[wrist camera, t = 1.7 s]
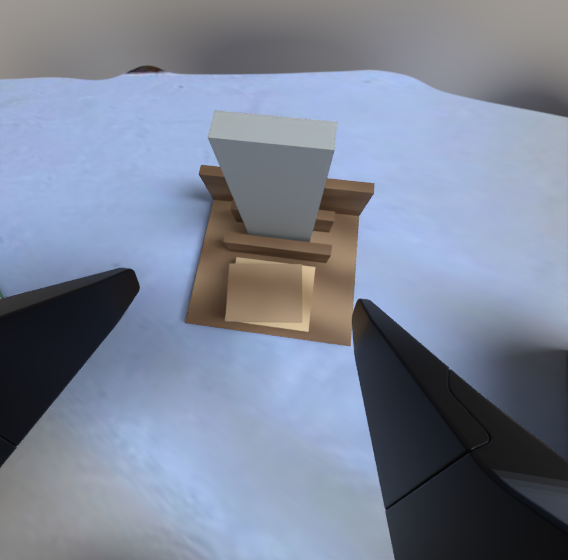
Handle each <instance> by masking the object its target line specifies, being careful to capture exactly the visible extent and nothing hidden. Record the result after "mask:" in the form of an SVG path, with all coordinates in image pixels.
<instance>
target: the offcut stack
mask: <svg viewBox="0 0 568 560" xmlns="http://www.w3.org/2000/svg"><path fill="white" fill-rule="evenodd" d="M314 275H315V267H311V266H303V265H302V264H287V263H279V262H271V261H263V260H255V259H247V258H239V257H237V258H236V263H235V264H229V276H228V290H227V305H226V315H225V321H228V322H242V323H249V324H256V325H263V326H270V327H278V328H285V329H292V330H299V331H306V332H308V331H309V322H310V312H311V303H312V294H313V285H314Z"/></svg>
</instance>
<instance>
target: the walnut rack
mask: <svg viewBox="0 0 568 560" xmlns="http://www.w3.org/2000/svg"><path fill="white" fill-rule="evenodd" d="M199 176H200V177H201V179H202V181H203V182H204V184H205V186H206V188H207V189H208V191H209V193H210V194H211V196H212V198H213V204H212V209H211V213H210V217H209V222H208V226H207V230H206V235H205V239H204V243H203V248H202V252H201V256H200V261H199V265H198V269H197V274H196V278H195V282H194V287H193V291H192V295H191V300H190V304H189V308H188V313H187V317H186V321H185V323H189V324H196V325H203V326H210V327H217V328H225V329H232V330H239V331H246V332H253V333H260V334H267V335H274V336H281V337H288V338H295V339H303V340H310V341H317V342H324V343H331V344H338V345H345V346H350V345H351V330H352V314H353V300H354V285H355V269H356V254H357V239H358V224H359V215H360V214H361V212H362V211H363V209H364V208H365V206H366V205H367V203H368V202H369V200H370V199H371V197H372V196H373V194H374V183H366V182H356V181H347V180H338V179H328V178H327V180H326V183H325V187H324V191H323V195H322V198H321V202H320V206H319V210H318V213H317V217H316V221H315V225H314V228H313V232H312V236H311V240H310V242H304V241H295V240H287V239H279V238H270V237H262V236H254V235H249V234H248V232H247V229H246V227H245V224H244V222H243V220H242V217H241V215H240V213H239V210H238V208H237V206H236V203H235V201H234V198H233V196H232V194H231V191H230V189H229V187H228V184H227V182H226V179H225V177H224V175H223V172H222V170H221V168H220V167H216V166H207V165H201V167H200V171H199ZM237 257H239V258H247V259H255V260H263V261H271V262H279V263H287V264H302V265H303V266H311V267H315V275H314V285H313V294H312V303H311V312H310V322H309V331H308V332H306V331H299V330H292V329H285V328H278V327H270V326H263V325H256V324H249V323H242V322H228V321H225V315H226V305H227V290H228V276H229V264H235V263H236V258H237Z"/></svg>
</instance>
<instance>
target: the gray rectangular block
mask: <svg viewBox="0 0 568 560" xmlns="http://www.w3.org/2000/svg"><path fill="white" fill-rule="evenodd" d="M336 130H337V122H332V121H321V120H311V119H300V118H290V117H279V116H269V115H258V114H248V113H237V112H227V111H216V110H215V111H214V115H213V119H212V123H211V127H210V130H209V134H208V139H209V141H210V144H211V146H212V149H213V151H214V153H215V156H216V158H217V160H218V163H219V165H220V168H221V170H222V172H223V175H224V177H225V179H226V182H227V184H228V187H229V189H230V191H231V194H232V196H233V198H234V201H235V203H236V206H237V208H238V210H239V213H240V215H241V217H242V220H243V222H244V224H245V227H246V229H247V232H248V234H249V235H254V236H262V237H270V238H279V239H287V240H295V241H304V242H310V240H311V236H312V232H313V228H314V225H315V221H316V217H317V213H318V210H319V206H320V202H321V198H322V195H323V191H324V187H325V183H326V180H327V176H328V172H329V169H330V165H331V161H332V157H333V154H334V149H335V139H336Z"/></svg>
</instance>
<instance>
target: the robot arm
mask: <svg viewBox="0 0 568 560" xmlns="http://www.w3.org/2000/svg"><path fill="white" fill-rule="evenodd" d="M139 289H140V286H139V282H138V280H137V277H136V274H135V272H134V270H132V269H129V268H117V269H114V270H110V271H106V272H102V273H98V274H94V275H91V276H87V277H83V278H79V279H75V280H71V281H68V282H64V283H60V284H56V285H52V286H48V287H45V288H41V289H37V290H33V291H29V292H25V293H22V294H18V295H14V296H10V297H6V298H2V299H0V468H1V466H2V465H3V464H4V463H5V461H6V460H7V459H8V458H9V456H10V455H11V454H12V453H13V452H14V450H15V449H16V448H17V446H18V445H19V444H20V443H21V441H22V440H23V439H24V438H25V436H26V435H27V434H28V433H29V431H30V430H31V429H32V428H33V427H34V425H35V424H36V423H37V422H38V420H39V419H40V418H41V417H42V415H43V414H44V413H45V412H46V411H47V409H48V408H49V407H50V406H51V404H52V403H53V402H54V401H55V400H56V398H57V397H58V396H59V395H60V393H61V392H62V391H63V390H64V388H65V387H66V386H67V385H68V384H69V382H70V381H71V380H72V379H73V377H74V376H75V375H76V374H77V372H78V371H79V370H80V369H81V368H82V366H83V365H84V364H85V363H86V361H87V360H88V359H89V358H90V357H91V355H92V354H93V353H94V352H95V350H96V349H97V348H98V347H99V345H100V344H101V343H102V342H103V341H104V339H105V338H106V337H107V336H108V334H109V333H110V332H111V331H112V329H113V328H114V327H115V326H116V324H117V323H118V322H119V320H120V319H121V318H122V316H123V315H124V313H125V312H126V310H127V309H128V307H129V306H130V304H131V302H132V301H133V299H134V298H135V296H136V295H137V293H138V292H139ZM352 330H353V343H354V355H355V361H356V366H357V371H358V376H359V381H360V386H361V391H362V396H363V401H364V406H365V411H366V416H367V421H368V426H369V431H370V436H371V441H372V446H373V451H374V456H375V461H376V466H377V471H378V476H379V481H380V486H381V491H382V496H383V501H384V506H385V509H386V511H385V512H386V517H387V522H388V527H389V532H390V537H391V542H392V547H393V553H394V558H395V560H568V462H567V461H566V460H565V459H563V458H562V457H561V456H559V455H558V454H557V453H556V452H554V451H553V450H552V449H550V448H549V447H548V446H546V445H545V444H544V443H543V442H541V441H540V440H539V439H537V438H536V437H535V436H533V435H532V434H531V433H530V432H528V431H527V430H526V429H524V428H523V427H522V426H520V425H519V424H518V423H517V422H515V421H514V420H513V419H511V418H510V417H509V416H507V415H506V414H505V413H504V412H502V411H501V410H500V409H499V408H497V407H496V406H495V405H493V404H492V403H491V402H490V401H488V400H487V399H486V398H485V397H483V396H482V395H481V394H480V393H478V392H477V391H476V390H475V389H474V388H472V387H471V386H470V385H469V384H468V383H466V382H465V381H464V380H463V379H462V378H461V377H459V376H458V375H457V374H456V373H455V372H454V371H452V370H449V367H448V366H446V365H445V364H444V363H443V362H442V361H441V360H439V359H438V358H437V357H436V356H435V355H434V354H432V353H431V352H430V351H429V350H428V349H427V348H425V347H424V346H423V345H422V344H421V343H420V342H418V341H417V340H416V339H415V338H414V337H413V336H411V335H410V334H409V333H408V332H407V331H406V330H404V329H403V328H402V327H401V326H400V325H399V324H397V323H396V322H395V321H394V320H393V319H392V318H390V317H389V316H388V315H387V314H386V313H385V312H383V311H382V310H381V309H380V308H379V307H378V306H376V305H375V304H374V303H373V302H372V301H370V300H368V299H358V300H357V303H356V305H355V308H354V311H353V314H352Z"/></svg>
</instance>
